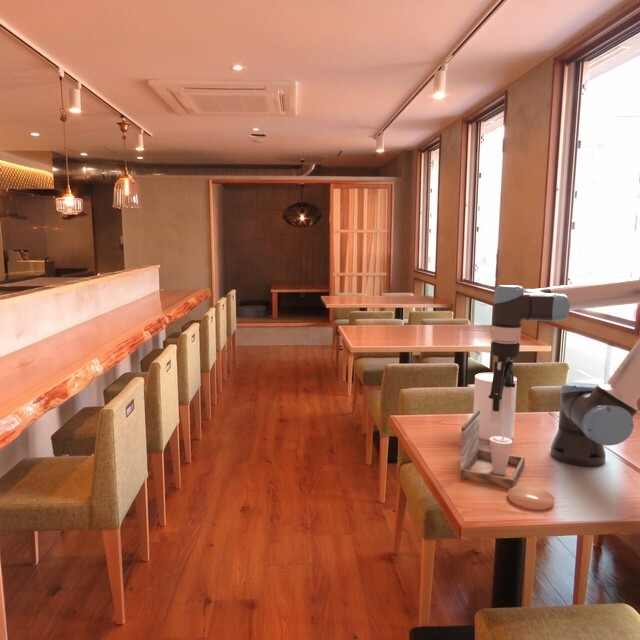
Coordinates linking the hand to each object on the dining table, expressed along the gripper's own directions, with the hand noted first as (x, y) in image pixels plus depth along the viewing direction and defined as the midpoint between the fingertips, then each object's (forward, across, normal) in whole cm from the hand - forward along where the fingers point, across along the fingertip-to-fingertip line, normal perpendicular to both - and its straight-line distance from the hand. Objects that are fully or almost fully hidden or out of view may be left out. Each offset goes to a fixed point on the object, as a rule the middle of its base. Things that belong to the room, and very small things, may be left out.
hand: (500, 415), depth 152 cm
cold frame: (+17, 0, -1) cm, 17 cm away
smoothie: (+17, 0, 0) cm, 17 cm away
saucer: (+17, +13, +11) cm, 24 cm away
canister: (+17, -32, -8) cm, 37 cm away
